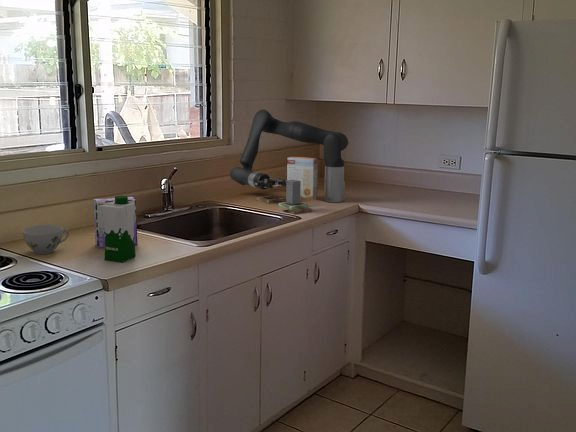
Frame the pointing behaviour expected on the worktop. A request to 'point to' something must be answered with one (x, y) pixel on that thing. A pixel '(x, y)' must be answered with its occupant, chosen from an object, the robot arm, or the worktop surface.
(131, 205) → the milk carton
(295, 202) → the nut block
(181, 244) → the worktop surface
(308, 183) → the cracker box
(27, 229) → the teacup
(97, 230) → the candy box
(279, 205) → the olive flat piece
